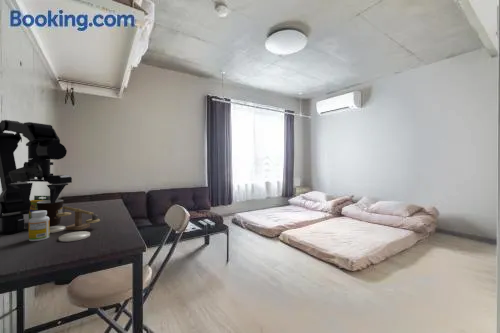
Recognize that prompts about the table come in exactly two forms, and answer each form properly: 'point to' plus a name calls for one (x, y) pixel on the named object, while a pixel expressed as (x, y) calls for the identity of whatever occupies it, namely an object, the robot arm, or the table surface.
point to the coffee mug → (51, 210)
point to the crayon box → (34, 204)
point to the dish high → (56, 229)
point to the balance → (78, 218)
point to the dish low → (74, 236)
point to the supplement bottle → (39, 226)
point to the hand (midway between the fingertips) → (39, 203)
